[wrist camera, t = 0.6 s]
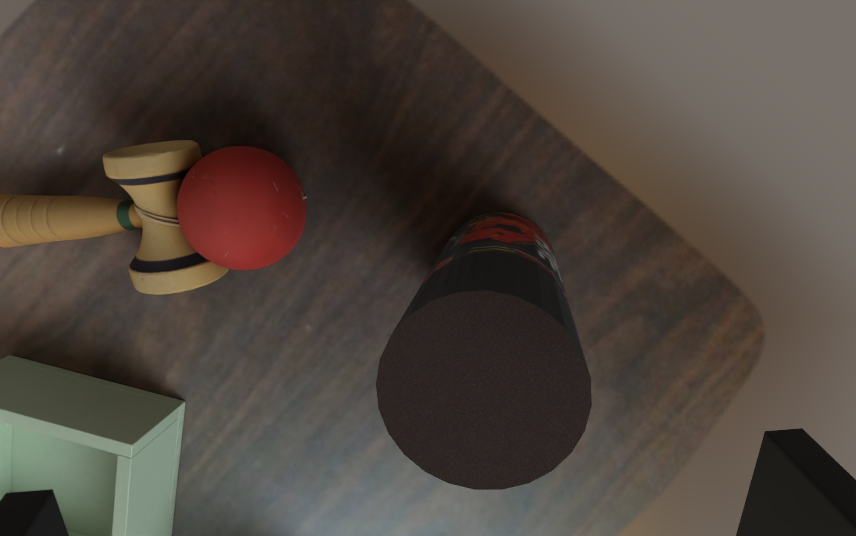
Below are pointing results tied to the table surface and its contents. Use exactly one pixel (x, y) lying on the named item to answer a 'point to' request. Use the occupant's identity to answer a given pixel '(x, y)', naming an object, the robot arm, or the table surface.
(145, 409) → the bin
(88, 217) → the kendama
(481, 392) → the deodorant
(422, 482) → the table surface
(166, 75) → the table surface
